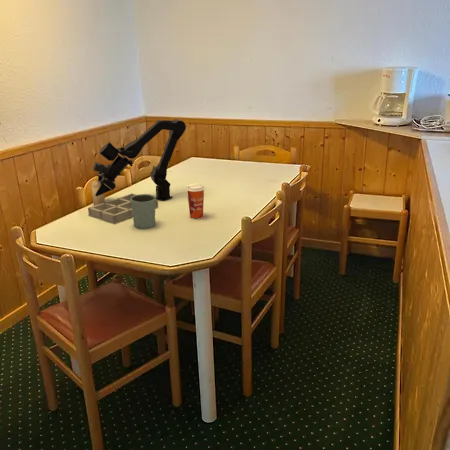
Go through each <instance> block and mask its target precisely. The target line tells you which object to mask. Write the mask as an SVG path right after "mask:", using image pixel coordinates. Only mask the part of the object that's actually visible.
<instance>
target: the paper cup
mask: <svg viewBox="0 0 450 450" xmlns="http://www.w3.org/2000/svg"><path fill="white" fill-rule="evenodd" d="M186 187H187V188H186V192H187V202H188V208H189V210H188V212H189V217H191V219H192V218H200V219H202V218H203V217H204V200H205V197H204V195H205V193H204V192H205V191H204V190H205V189H206V188H205V186H204V184H201V183H190V184H188V185H187V186H186ZM201 217H202V218H201Z"/></svg>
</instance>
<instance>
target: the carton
mask: <svg viewBox="0 0 450 450" xmlns="http://www.w3.org/2000/svg"><path fill="white" fill-rule="evenodd" d="M135 195H136V194H135V193H129V194H126V195H124V196H120V197H117V198H115V199H111V200H108V201H105V203H101V204H98V205H95V206H94V205H93V206H90V207H88V208H87V209H88V210H87V212H88V216H89V217H92V218H95V219H98V220H100V221H104V222H107V223H111V224H112V225H113V224H114V225H116V224H119V223H121V222H124V221H126V220H129V219H132V218H134V217H133V212H132V206H131V200H130V198H131V197H132V196H135ZM158 208H159V201H158V199H156V203H155V210H156V209H158Z"/></svg>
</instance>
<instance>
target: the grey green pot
mask: <svg viewBox="0 0 450 450" xmlns="http://www.w3.org/2000/svg"><path fill="white" fill-rule="evenodd" d="M156 197H157V196H156V195H153V194H150V193H149V194H148V193H147V194H146V193H142V194H135V196H132V197H131V198H130V200H131V206H132V212H133V217H132V218H133V219H132V220H133V226H134V228H135V229H139V230H142V229H143V230H145V229H146V230H147V229H151V228H153V227H154V226H155V225H156V209H155V203H156V200H157V199H156Z"/></svg>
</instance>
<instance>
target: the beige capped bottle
mask: <svg viewBox="0 0 450 450" xmlns="http://www.w3.org/2000/svg"><path fill="white" fill-rule="evenodd" d="M100 186H101V181H98V179H97V180H94V181H92V182H91V186H90V187H91V194H92V202H93V206H95V205H98V204H101V203H105V202H106V199H105V193H103V194H101V195H99V196H95V194H96V192H97V191H98V189H99V187H100Z"/></svg>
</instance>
